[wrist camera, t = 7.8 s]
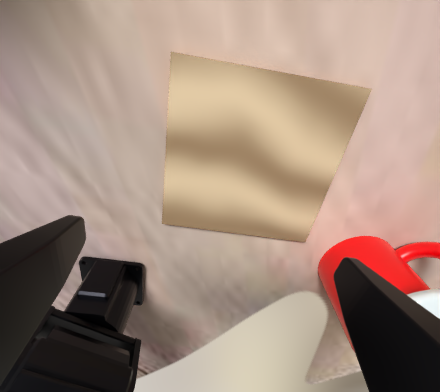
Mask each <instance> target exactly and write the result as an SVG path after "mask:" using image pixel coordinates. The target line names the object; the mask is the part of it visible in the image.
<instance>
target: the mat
mask: <svg viewBox="0 0 440 392" xmlns="http://www.w3.org/2000/svg"><path fill="white" fill-rule="evenodd" d="M371 90H372V89H369V88H363V87H358V86H352V85H347V84H342V83H336V82H331V81H325V80H320V79H315V78H309V77H304V76H298V75H293V74H288V73H282V72H277V71H271V70H266V69H261V68H255V67H250V66H244V65H239V64H234V63H228V62H223V61H217V60H212V59H207V58H201V57H196V56H190V55H185V54H180V53H174V52H171V59H170V79H169V98H168V117H167V137H166V156H165V175H164V194H163V214H162V224H168V225H175V226H183V227H191V228H199V229H206V230H214V231H222V232H230V233H237V234H245V235H253V236H261V237H268V238H276V239H284V240H292V241H299V242H306V239H307V237H308V235H309V232H310V230H311V228H312V226H313V223H314V221H315V219H316V216H317V214H318V212H319V209H320V207H321V205H322V202H323V200H324V198H325V196H326V193H327V191H328V189H329V186H330V184H331V182H332V179H333V177H334V175H335V173H336V170H337V168H338V166H339V163H340V161H341V159H342V156H343V154H344V152H345V150H346V147H347V145H348V143H349V140H350V138H351V136H352V133H353V131H354V129H355V127H356V124H357V122H358V120H359V117H360V115H361V113H362V110H363V108H364V106H365V104H366V101H367V99H368V97H369V94H370V92H371Z"/></svg>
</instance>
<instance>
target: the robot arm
mask: <svg viewBox="0 0 440 392" xmlns="http://www.w3.org/2000/svg"><path fill="white" fill-rule="evenodd" d="M85 240H86V233H85V224H84V219H83V218H82V217H80V216H73V215H68V216H65V217H63V218H61V219H58V220H56V221H53V222H51V223H48V224H46V225H44V226H41V227H39V228H36V229H34V230H32V231H29V232H27V233H24V234H22V235H19V236H17V237H15V238H12V239H10V240H7V241H5V242H3V243H0V392H133V391H134V388H135V383H136V376H137V368H138V361H139V353H140V346H141V340H140V339H138V338H135V339H134V338H132V337H129V336H126V335H124V334H123V332H124V329H125V327H126V324H127V321H128V318H129V315H130V312H131V310H132V307H133V305H142V303H143V296H144V266H143V265H142V264H141V263H135V262H127V261H118V260H109V259H101V258H92V257H82V258H81V259H80V261H79V265H80V271H81V277H82V283H81V285H80V286H79V288H78V290H77V291H76V293H75V294H74V296H73V298H72V299H71V301H70V302H69V304H68V306H67V307H66V309H65V310H64V312H63V311H61V310H58V309H55V307H54V306H51V305H52V304H53V302H54V300H55V299H56V297H57V296H58V294H59V292H60V291H61V289H62V287H63V286H64V284H65V282H66V280H67V278H68V276H69V274H70V272H71V270H72V268H73V266H74V264H75V262H76V260H77V258H78V256H79V254H80V252H81V250H82V248H83V246H84V243H85ZM333 277H334V283H335V287H336V291H337V295H338V299H339V303H340V307H341V311H342V315H343V318H344V322H345V325H346V328H347V331H348V333H349V336H350V339H351V342H352V345H353V348H354V350H355V353H356V356H357V359H358V362H359V365H360V367H361V370H362V373H363V376H364V379H365V381H366V384H367V387H368V390H369V392H440V319H439V318H438V317H436V316H435V315H434V314H432V313H431V312H429V311H428V310H427V309H425V308H424V307H423V306H421V305H420V304H418V303H417V302H416V301H414V300H413V299H412V298H410V297H409V296H408V295H406V294H405V293H403V292H402V291H401V290H399V289H398V288H397V287H395V286H394V285H392V284H391V283H390V282H388V281H387V280H386V279H384V278H383V277H381V276H380V275H379V274H377V273H376V272H375V271H373V270H372V269H371V268H369V267H368V266H366V265H365V264H364V263H362V262H361V261H360V260H358V259H356V258H351V257H344V258H343V259H342V260H341V262H340V264H339V265H338V267H337V269H336V270H335V272H334V276H333Z"/></svg>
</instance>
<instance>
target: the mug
mask: <svg viewBox="0 0 440 392" xmlns="http://www.w3.org/2000/svg"><path fill="white" fill-rule="evenodd" d="M344 257H351V258H356V259H358V260H360V261H361V262H362V263H364V264H365V265H366V266H368V267H369V268H371V269H372V270H373V271H375V272H376V273H377V274H379V275H380V276H381V277H383V278H384V279H386V280H387V281H388V282H390V283H391V284H392V285H394V286H395V287H397V288H398V289H399V290H401V291H402V292H403V293H405V294H406V295H407V294H410V293H414V292H418V291H423V290H429V289H430V288H429V287H428V286H427V285H426V284H425V283H424V281H423V280H422V279H421V278H420V277H419V276H418V275H417V274H416V273H415V272H414V271H413V269H412V268H411V267H410V266H409V265H408V264H407V262H409V261H411V260H414V259H417V258H424V257H431V258H438V259H440V243H437V242H417V243H412V244H408V245H405V246H402V247H400V248H398V249H396V250H394V249H393V248H392V247H391V245H390V244H389V243H388V242H386V241H385V240H383V239H380V238H378V237H372V236H359V237H353V238H350V239H347V240H344V241H342V242H340V243H338V244H336V245H335V246H333V247H332V248H330V249H329V250H328V251H327V252H326V253H325V254H324V256H323V257H322V258H321V260H320V262H319V266H318V274H319V277H320V279H321V281H322V284H323V286H324V288H325V290H326V292H327V295H328V297H329V299H330V301H331V303H332V306H333V308H334V310H335V312H336V314H337V316H338V319H339V321H340V323H341V325H342V327H343V330H344V332H345V334H346V336H347V338H348V341H349V343H350V345H351V347H352V349H353V350H354V348H353V345H352V342H351V339H350V336H349V333H348V331H347V328H346V325H345V322H344V318H343V315H342V311H341V307H340V303H339V299H338V295H337V291H336V287H335V283H334V277H333V276H334V272H335V270H336V269H337V267H338V265H339V264H340V262H341V260H342V259H343V258H344ZM354 352H355V350H354Z"/></svg>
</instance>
